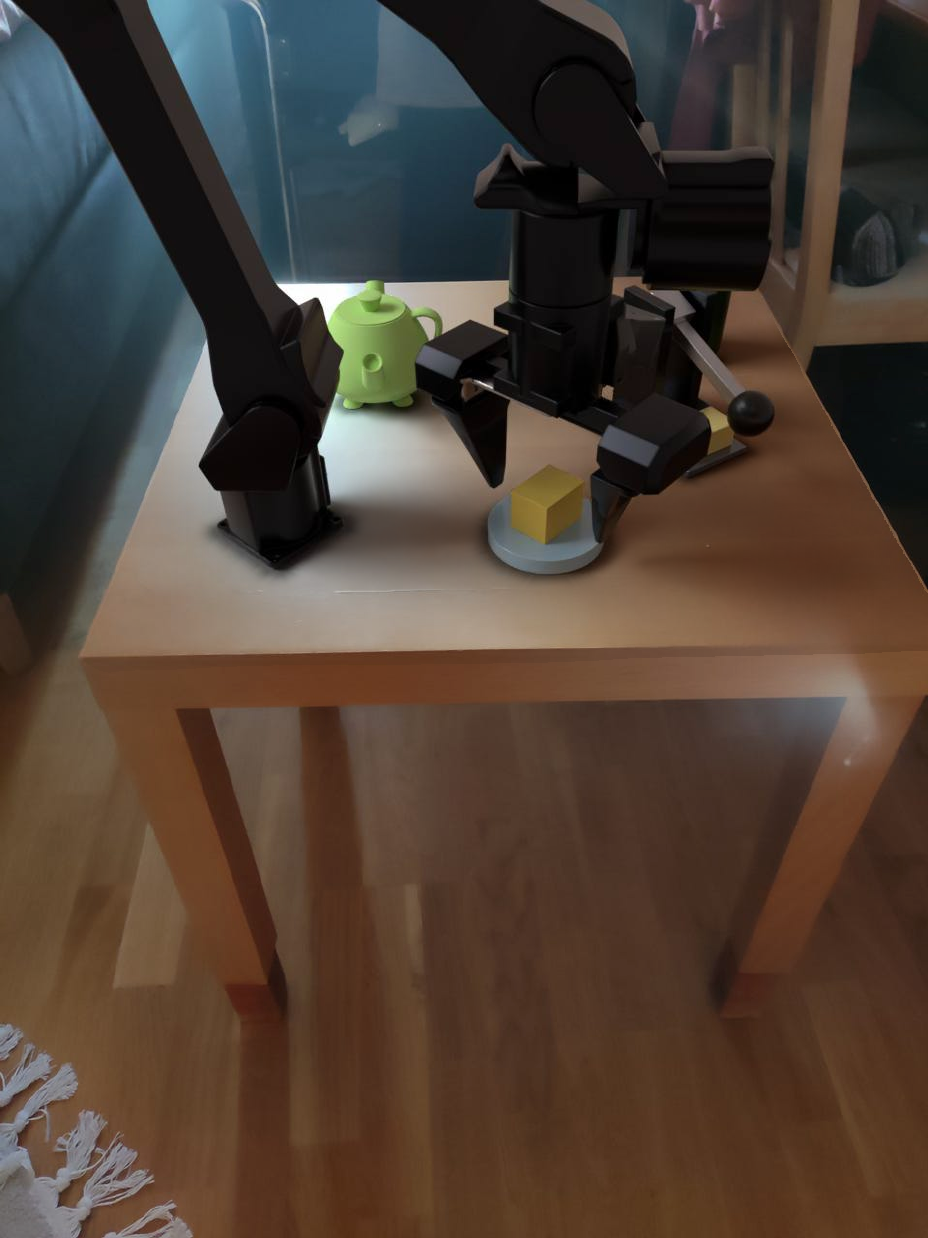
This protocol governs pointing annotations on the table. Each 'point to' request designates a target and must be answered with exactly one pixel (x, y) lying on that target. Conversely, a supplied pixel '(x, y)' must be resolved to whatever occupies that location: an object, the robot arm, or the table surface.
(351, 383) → the teapot
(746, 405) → the arm
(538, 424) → the table surface
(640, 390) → the cutter
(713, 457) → the butter dish
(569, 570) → the plate
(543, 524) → the butter pat
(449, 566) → the table surface
